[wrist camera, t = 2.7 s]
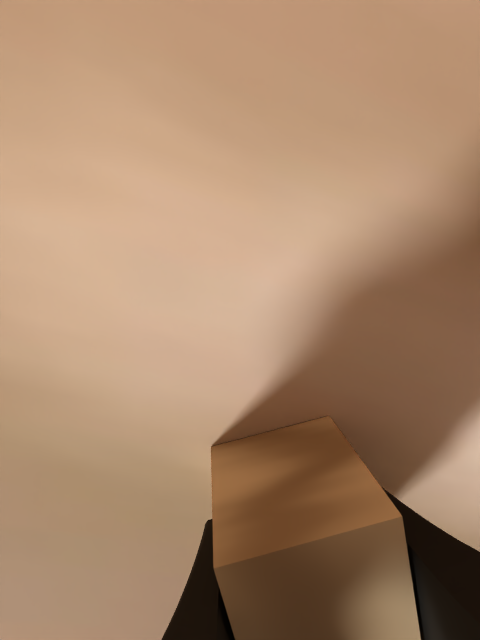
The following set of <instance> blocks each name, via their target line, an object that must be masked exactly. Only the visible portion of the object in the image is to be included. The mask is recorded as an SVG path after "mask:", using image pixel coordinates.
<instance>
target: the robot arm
mask: <svg viewBox="0 0 480 640" xmlns="http://www.w3.org/2000/svg"><path fill="white" fill-rule="evenodd" d="M381 488H382V487H381ZM382 489H383V490H384V492H385V493H386V494H387V496H388V497H389V499H390V500H391V501H392V503H393V504H394V505H395V507H396V508H397V510H398V511H399V512H400V514H401V515H402V518H403V524H404V531H405V537H406V544H407V551H408V557H409V564H410V570H411V577H412V584H413V590H414V597H415V604H416V610H417V617H418V623H419V630H420V637H421V640H480V552H479V551H477V550H475V549H473V548H472V547H470V546H468V545H466V544H464V543H463V542H461V541H459V540H457V539H456V538H454V537H452V536H451V535H449V534H448V533H446V532H444V531H443V530H441V529H440V528H438V527H437V526H435V525H433V524H432V523H430V522H429V521H427V520H426V519H424V518H423V517H422V516H420V515H419V514H417V513H416V512H414V511H413V510H412V509H410V508H409V507H407V506H406V505H405V504H403V503H402V502H401V501H399V500H398V499H397V498H395V497H394V496H393V495H391V494H390V493H389V492H387V491H386V490H385V489H384V488H382ZM162 640H235V638H234V634H233V631H232V628H231V624H230V621H229V618H228V614H227V611H226V608H225V605H224V601H223V598H222V595H221V591H220V588H219V585H218V581H217V578H216V575H215V572H214V567H213V519H211V520H208V521H207V522H206V524H205V528H204V532H203V536H202V540H201V543H200V546H199V550H198V553H197V556H196V559H195V562H194V565H193V567H192V570H191V573H190V576H189V579H188V581H187V584H186V586H185V589H184V591H183V594H182V596H181V598H180V601H179V603H178V606H177V608H176V610H175V613H174V615H173V617H172V619H171V621H170V623H169V626H168V628H167V630H166V632H165V634H164V636H163V638H162Z"/></svg>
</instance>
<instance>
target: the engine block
mask: <svg viewBox="0 0 480 640" xmlns="http://www.w3.org/2000/svg"><path fill="white" fill-rule="evenodd" d="M211 472H212V519H213V567H214V572H215V575H216V578H217V581H218V585H219V588H220V591H221V595H222V598H223V601H224V605H225V608H226V611H227V614H228V618H229V621H230V624H231V628H232V631H233V634H234V638H235V640H421V637H420V630H419V623H418V617H417V610H416V604H415V597H414V590H413V584H412V577H411V570H410V564H409V557H408V551H407V544H406V537H405V531H404V524H403V518H402V515H401V514H400V512H399V511H398V510H397V508H396V507H395V505H394V504H393V503H392V501H391V500H390V499H389V497H388V496H387V494H386V493H385V492H384V490H383V489H382V488H381V486H380V485H379V483H378V482H377V481H376V479H375V478H374V477H373V475H372V474H371V472H370V471H369V470H368V468H367V467H366V466H365V464H364V463H363V461H362V460H361V459H360V457H359V456H358V455H357V453H356V452H355V450H354V449H353V448H352V446H351V445H350V444H349V442H348V441H347V439H346V438H345V437H344V435H343V434H342V433H341V431H340V430H339V428H338V427H337V426H336V424H335V423H334V422H333V420H332V419H331V417H330V416H326V417H323V418H319V419H315V420H311V421H307V422H303V423H300V424H296V425H292V426H288V427H284V428H281V429H277V430H273V431H269V432H265V433H261V434H258V435H254V436H250V437H246V438H242V439H238V440H235V441H231V442H227V443H223V444H219V445H216V446H212V447H211Z"/></svg>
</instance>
